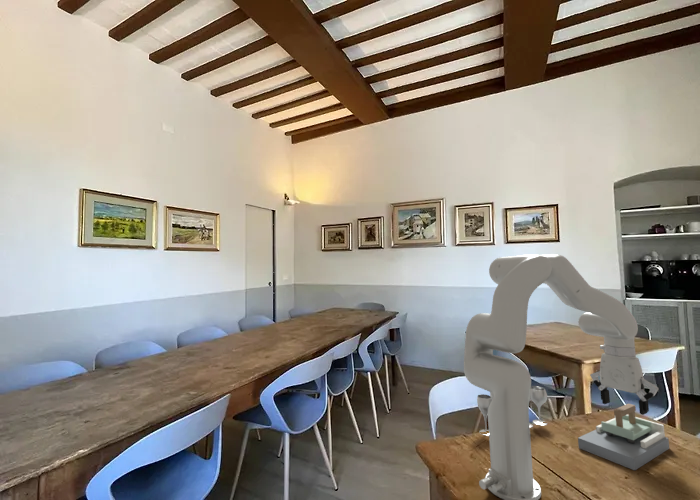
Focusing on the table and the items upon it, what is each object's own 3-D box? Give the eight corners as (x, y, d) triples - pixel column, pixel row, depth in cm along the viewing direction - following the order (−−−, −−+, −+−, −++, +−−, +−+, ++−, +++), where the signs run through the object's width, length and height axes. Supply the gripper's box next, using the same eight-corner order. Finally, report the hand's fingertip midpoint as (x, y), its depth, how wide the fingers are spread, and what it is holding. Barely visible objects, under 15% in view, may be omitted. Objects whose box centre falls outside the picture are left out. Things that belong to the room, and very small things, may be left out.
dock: (634, 470, 90) (632, 445, 91) (578, 448, 102) (576, 425, 103) (669, 448, 101) (667, 425, 101) (614, 430, 113) (613, 410, 113)
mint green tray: (633, 446, 97) (631, 416, 97) (602, 435, 104) (600, 407, 104) (652, 435, 103) (649, 407, 103) (621, 426, 110) (619, 399, 110)
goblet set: (486, 437, 111) (483, 396, 112) (474, 430, 116) (472, 390, 117) (553, 424, 119) (550, 386, 120) (539, 418, 124) (537, 381, 125)
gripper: (583, 347, 111) (586, 401, 109) (649, 358, 96) (654, 420, 94) (595, 345, 115) (598, 397, 113) (660, 355, 99) (665, 415, 98)
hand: (624, 408), depth 104 cm, fingers open, 9 cm apart
